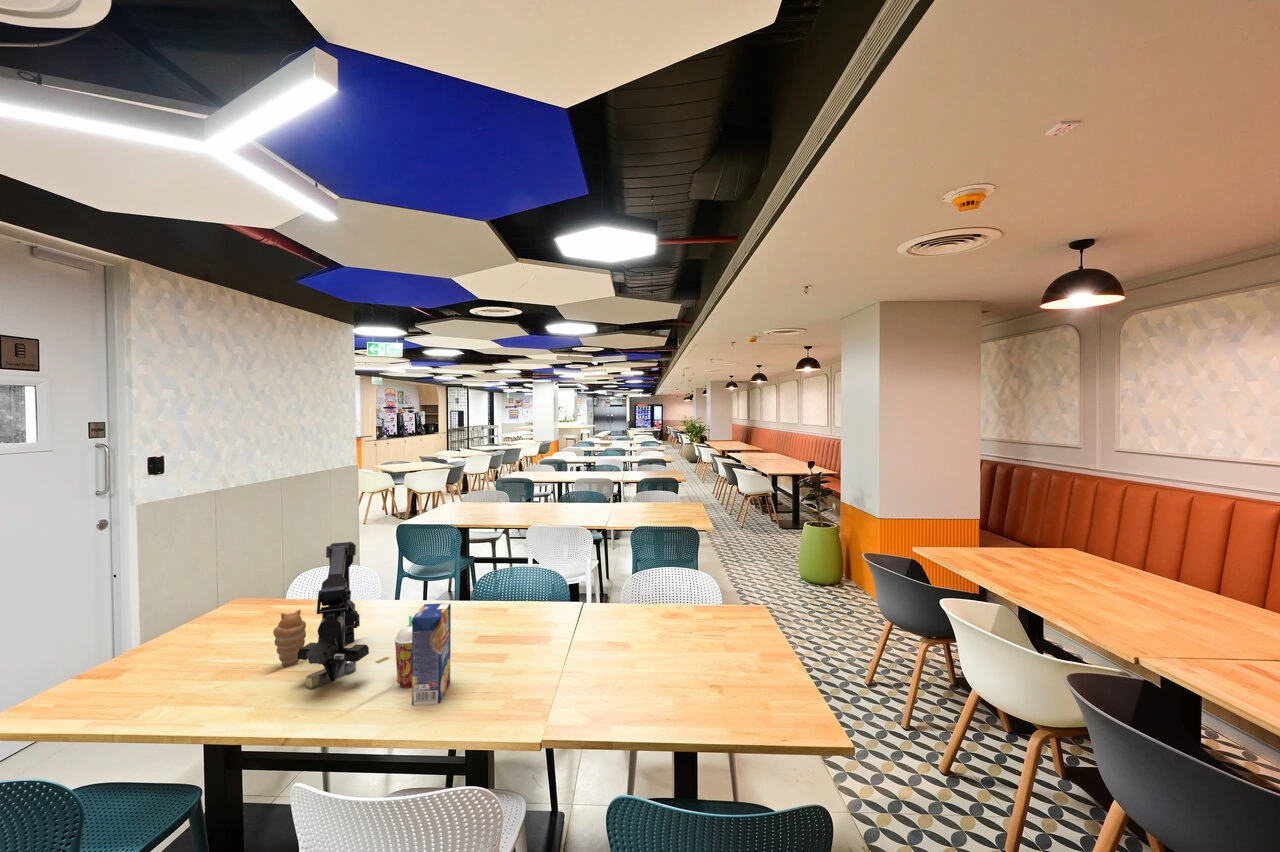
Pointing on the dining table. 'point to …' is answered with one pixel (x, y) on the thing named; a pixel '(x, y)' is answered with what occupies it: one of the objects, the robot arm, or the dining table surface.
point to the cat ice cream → (290, 637)
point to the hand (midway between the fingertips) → (333, 681)
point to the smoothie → (404, 655)
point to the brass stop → (382, 660)
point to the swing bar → (323, 678)
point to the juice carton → (431, 653)
